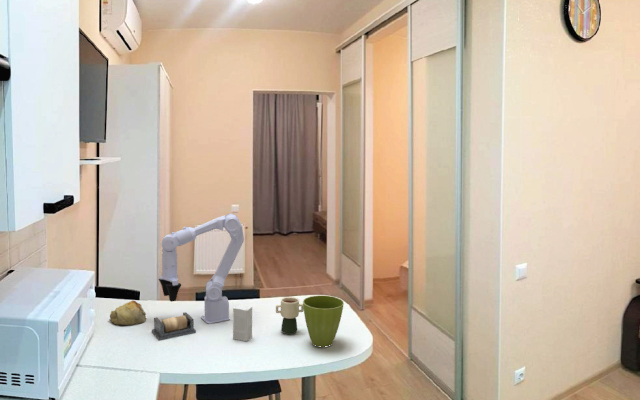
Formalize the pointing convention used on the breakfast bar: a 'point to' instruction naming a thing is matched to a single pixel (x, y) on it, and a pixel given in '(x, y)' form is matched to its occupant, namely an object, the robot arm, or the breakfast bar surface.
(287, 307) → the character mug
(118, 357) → the breakfast bar surface
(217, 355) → the breakfast bar surface
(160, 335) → the holder
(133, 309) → the pastry
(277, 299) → the breakfast bar surface
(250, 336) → the skincare box
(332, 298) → the flower pot
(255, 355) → the breakfast bar surface
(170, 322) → the cylinder
